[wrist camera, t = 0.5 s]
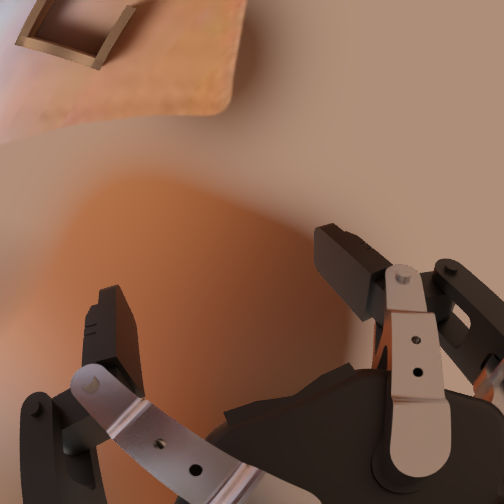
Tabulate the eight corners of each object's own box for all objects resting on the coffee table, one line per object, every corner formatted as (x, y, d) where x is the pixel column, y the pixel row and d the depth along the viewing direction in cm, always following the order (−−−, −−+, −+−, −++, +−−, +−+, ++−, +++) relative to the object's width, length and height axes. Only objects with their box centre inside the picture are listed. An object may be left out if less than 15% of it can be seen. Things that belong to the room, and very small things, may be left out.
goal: (23, 43, 18) (14, 44, 15) (55, -16, 15) (49, -21, 13) (100, 67, 24) (99, 70, 22) (133, 11, 22) (136, 8, 19)
